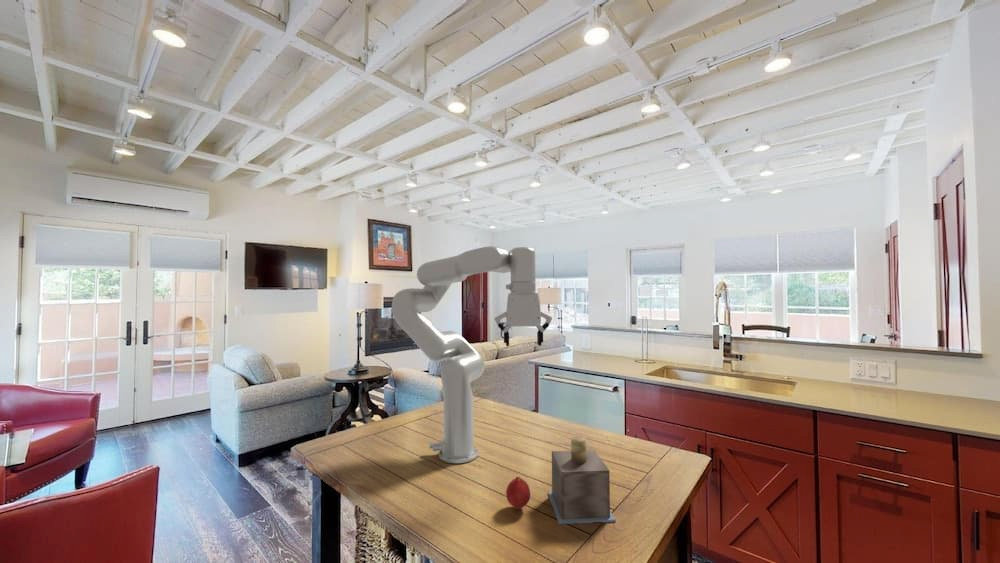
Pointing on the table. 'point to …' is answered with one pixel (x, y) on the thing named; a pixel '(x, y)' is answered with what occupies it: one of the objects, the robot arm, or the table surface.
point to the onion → (518, 493)
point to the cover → (580, 482)
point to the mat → (572, 521)
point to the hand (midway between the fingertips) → (523, 345)
